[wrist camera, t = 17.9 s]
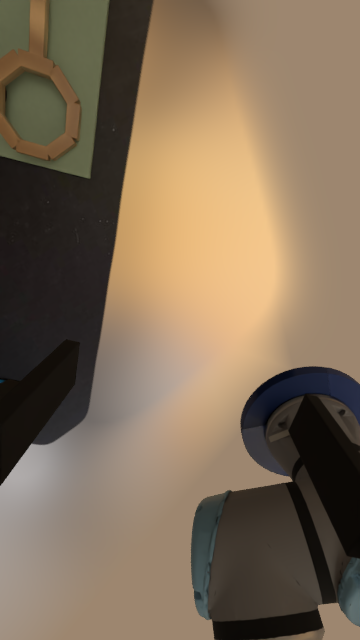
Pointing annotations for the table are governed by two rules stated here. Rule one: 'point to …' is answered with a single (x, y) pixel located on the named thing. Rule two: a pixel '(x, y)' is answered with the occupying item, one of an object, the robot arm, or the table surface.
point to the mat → (41, 93)
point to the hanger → (38, 64)
